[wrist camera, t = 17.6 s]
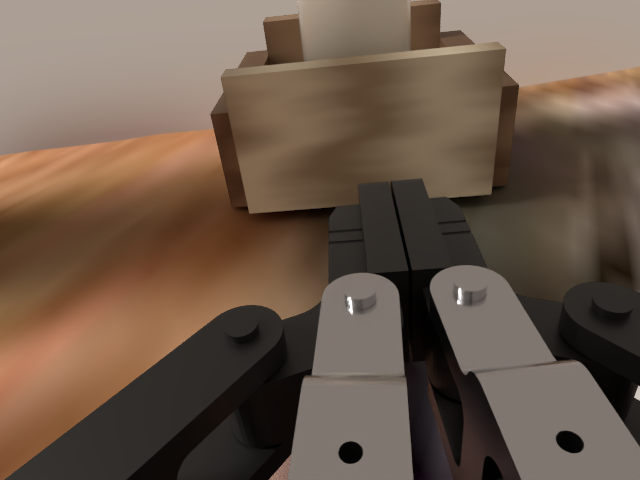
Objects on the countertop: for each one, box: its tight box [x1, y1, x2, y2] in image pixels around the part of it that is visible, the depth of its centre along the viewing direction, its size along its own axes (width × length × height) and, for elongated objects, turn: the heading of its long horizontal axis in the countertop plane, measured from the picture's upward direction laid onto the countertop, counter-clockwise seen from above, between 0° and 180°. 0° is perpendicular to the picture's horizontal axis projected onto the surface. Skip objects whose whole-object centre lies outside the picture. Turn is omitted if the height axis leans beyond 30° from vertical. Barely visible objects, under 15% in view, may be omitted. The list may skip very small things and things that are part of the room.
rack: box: [211, 0, 519, 207], centre depth 28 cm, size 14×12×7 cm
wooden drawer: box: [221, 42, 506, 214], centre depth 27 cm, size 12×11×7 cm
